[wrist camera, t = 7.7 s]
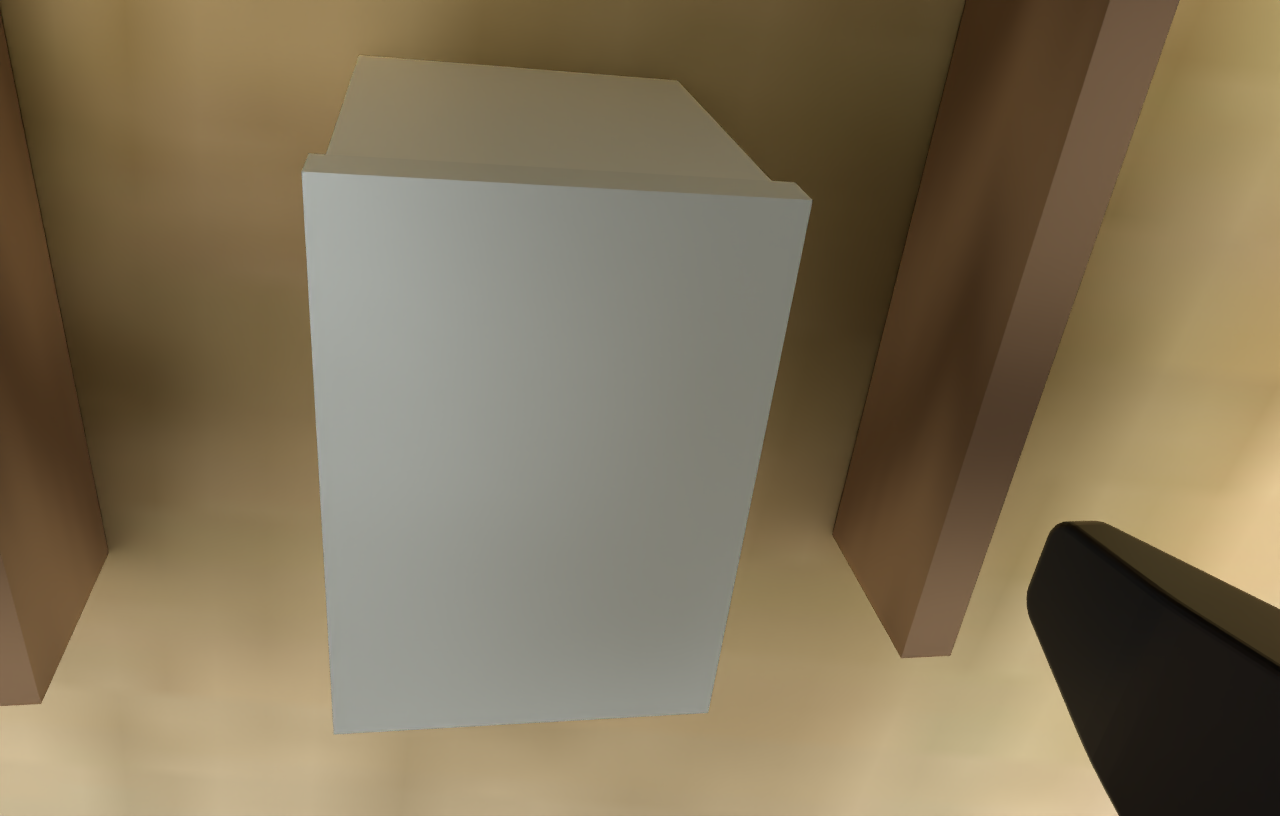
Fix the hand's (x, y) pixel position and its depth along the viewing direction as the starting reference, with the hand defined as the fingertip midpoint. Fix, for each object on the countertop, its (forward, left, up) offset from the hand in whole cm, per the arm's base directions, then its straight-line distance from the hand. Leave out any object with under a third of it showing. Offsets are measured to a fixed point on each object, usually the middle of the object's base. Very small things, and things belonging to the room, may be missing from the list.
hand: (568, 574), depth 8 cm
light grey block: (0, 0, -6) cm, 7 cm away
